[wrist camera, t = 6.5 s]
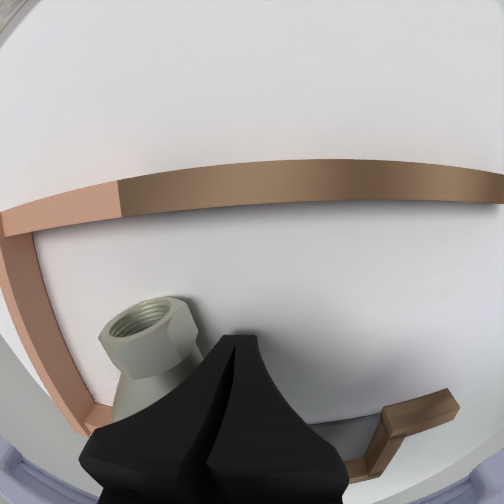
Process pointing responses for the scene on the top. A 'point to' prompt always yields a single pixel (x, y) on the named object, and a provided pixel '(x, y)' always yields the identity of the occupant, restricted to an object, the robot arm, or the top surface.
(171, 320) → the pipe fitting
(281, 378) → the top surface
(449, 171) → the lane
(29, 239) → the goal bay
